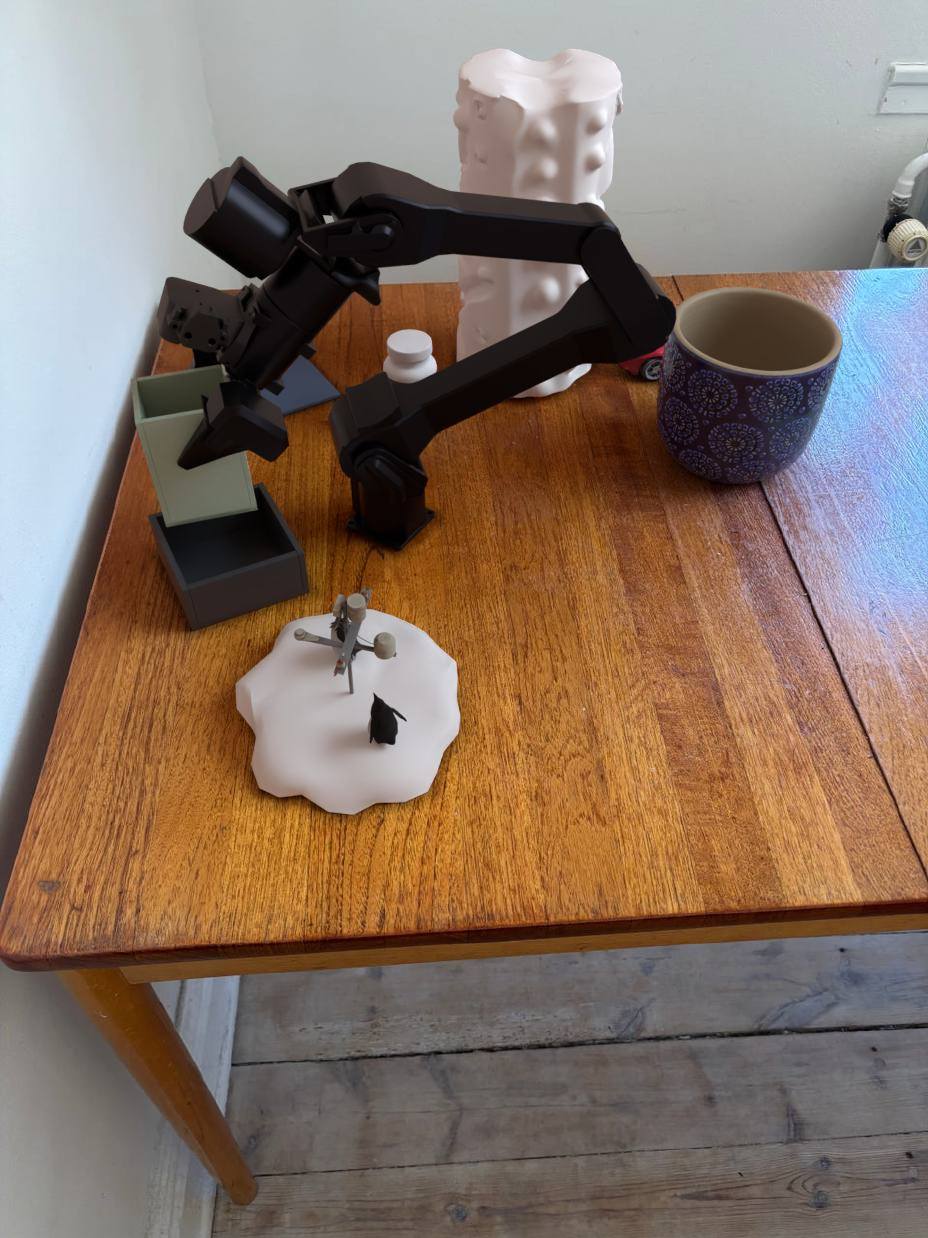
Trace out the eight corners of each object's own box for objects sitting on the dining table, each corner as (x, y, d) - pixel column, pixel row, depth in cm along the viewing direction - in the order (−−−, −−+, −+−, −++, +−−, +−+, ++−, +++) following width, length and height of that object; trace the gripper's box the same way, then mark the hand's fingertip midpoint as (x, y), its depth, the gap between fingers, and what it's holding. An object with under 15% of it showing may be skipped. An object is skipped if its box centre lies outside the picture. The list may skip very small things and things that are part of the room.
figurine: (242, 619, 88) (213, 486, 75) (449, 610, 90) (456, 477, 77) (231, 829, 76) (193, 712, 63) (471, 813, 78) (482, 696, 65)
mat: (341, 396, 114) (340, 393, 114) (259, 423, 110) (258, 420, 110) (302, 355, 120) (301, 352, 120) (223, 379, 116) (222, 376, 116)
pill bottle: (445, 430, 110) (445, 350, 103) (395, 441, 108) (392, 360, 101) (427, 402, 113) (425, 322, 106) (379, 412, 112) (374, 332, 105)
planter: (664, 395, 115) (686, 273, 104) (812, 425, 111) (851, 302, 100) (631, 481, 104) (653, 354, 93) (794, 518, 100) (836, 390, 90)
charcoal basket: (269, 521, 99) (262, 481, 95) (309, 592, 92) (304, 552, 89) (158, 555, 96) (147, 515, 92) (192, 631, 89) (181, 591, 85)
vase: (456, 322, 125) (458, 37, 102) (587, 326, 125) (618, 41, 102) (449, 401, 114) (450, 99, 90) (594, 405, 113) (631, 104, 90)
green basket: (248, 465, 94) (226, 363, 86) (257, 510, 90) (235, 406, 82) (160, 481, 92) (130, 378, 84) (166, 527, 88) (135, 423, 80)
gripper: (195, 195, 81) (89, 336, 87) (221, 310, 69) (95, 465, 75) (302, 274, 89) (197, 399, 94) (343, 391, 76) (220, 527, 82)
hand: (178, 442), depth 86 cm, fingers closed on green basket, 6 cm apart
